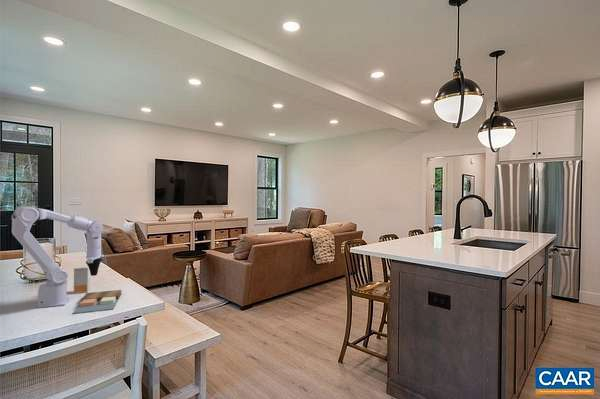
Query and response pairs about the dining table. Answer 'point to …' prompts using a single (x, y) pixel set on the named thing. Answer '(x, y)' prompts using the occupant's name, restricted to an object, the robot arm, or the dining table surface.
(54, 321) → the dining table surface
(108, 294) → the riser
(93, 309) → the mat
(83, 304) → the tile terracotta
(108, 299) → the tile sage
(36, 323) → the dining table surface
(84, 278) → the skincare box
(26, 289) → the dining table surface
